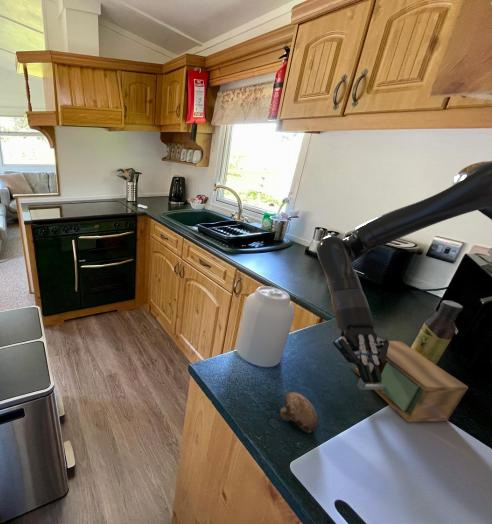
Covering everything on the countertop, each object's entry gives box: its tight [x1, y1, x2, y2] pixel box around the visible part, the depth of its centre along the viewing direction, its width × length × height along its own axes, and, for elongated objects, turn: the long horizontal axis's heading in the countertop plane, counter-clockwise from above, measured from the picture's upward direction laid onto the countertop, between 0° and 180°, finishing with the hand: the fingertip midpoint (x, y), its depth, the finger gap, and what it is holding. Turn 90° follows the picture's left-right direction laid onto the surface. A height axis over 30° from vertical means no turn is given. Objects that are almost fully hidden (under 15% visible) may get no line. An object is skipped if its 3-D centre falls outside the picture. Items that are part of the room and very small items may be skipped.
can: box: [234, 285, 295, 368], centre depth 80 cm, size 12×12×20 cm
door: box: [357, 362, 419, 411], centre depth 67 cm, size 7×8×8 cm
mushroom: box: [279, 391, 319, 434], centre depth 62 cm, size 8×8×6 cm
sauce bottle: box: [410, 300, 464, 365], centre depth 81 cm, size 6×6×20 cm
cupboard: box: [353, 340, 469, 423], centre depth 70 cm, size 10×16×10 cm, turn 4°
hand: (372, 382), depth 67 cm, fingers closed
